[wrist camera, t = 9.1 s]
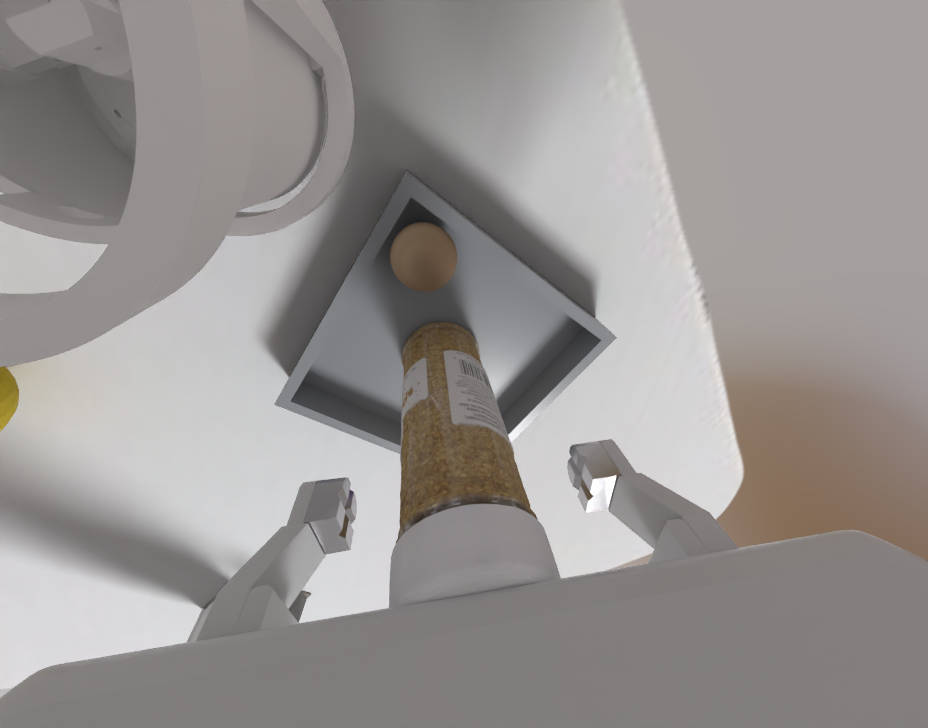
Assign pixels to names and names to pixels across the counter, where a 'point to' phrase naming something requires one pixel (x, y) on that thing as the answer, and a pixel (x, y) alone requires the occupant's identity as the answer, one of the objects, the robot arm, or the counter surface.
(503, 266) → the tray
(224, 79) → the white hollow mechanical part
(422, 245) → the wooden ball
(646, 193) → the counter surface
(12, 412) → the lemon
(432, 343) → the sprinkles bottle
